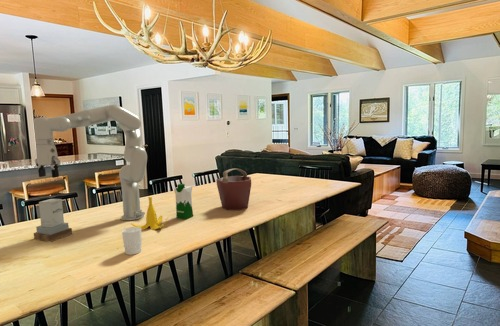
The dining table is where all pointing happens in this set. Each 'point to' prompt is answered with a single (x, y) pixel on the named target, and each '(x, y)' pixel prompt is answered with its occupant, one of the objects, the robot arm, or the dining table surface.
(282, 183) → the dining table surface
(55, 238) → the tower base
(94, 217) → the dining table surface
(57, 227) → the tower top
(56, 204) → the supplement box
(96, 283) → the dining table surface
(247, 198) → the bucket
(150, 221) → the banana peel
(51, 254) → the dining table surface
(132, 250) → the white cup
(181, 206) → the milk carton
